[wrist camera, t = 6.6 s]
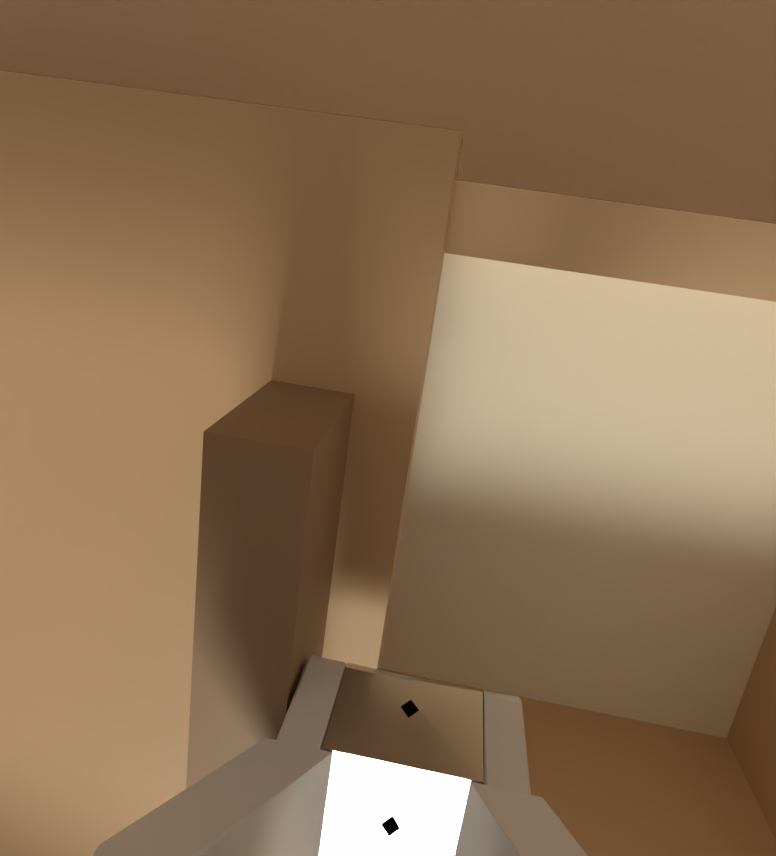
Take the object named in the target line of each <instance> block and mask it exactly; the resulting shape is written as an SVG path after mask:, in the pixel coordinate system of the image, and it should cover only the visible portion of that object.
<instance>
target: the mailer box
mask: <svg viewBox="0 0 776 856" xmlns="http://www.w3.org/2000/svg"><path fill="white" fill-rule="evenodd" d="M379 670H383V671H388V672H392V673H397V674H401V675H405V676H410V677H414V678H417V679H422V680H427V681H432V682H437V683H442V684H447V685H452V686H457V687H462V688H468V689H473V690H478V691H481V692H482V691H483V690H484V691H490V692H495V693H501V694H507V695H512V696H518V697H519V698H520V699H521V701H522V706H523V717H524V727H525V738H526V748H527V759H528V769H529V780H530V790H531V795H534V796H539V797H542V798H544V800H545V801H546V802H547V804H548V805H549V806H550V807H551V809H552V810H553V811H554V813H555V814H556V815H557V817H558V818H559V819H560V820H561V822H562V823H563V824H564V826H565V827H566V828H567V829H568V831H569V832H570V833H571V835H572V836H573V837H574V838H575V840H576V841H577V842H578V844H579V845H580V846H581V848H582V849H583V850H584V851H585V853H586V854H587V855H588V856H776V224H774V223H767V222H760V221H752V220H745V219H738V218H731V217H723V216H716V215H709V214H702V213H694V212H687V211H680V210H672V209H665V208H658V207H651V206H643V205H636V204H629V203H622V202H614V201H607V200H600V199H592V198H585V197H578V196H571V195H563V194H556V193H549V192H542V191H534V190H527V189H520V188H513V187H505V186H498V185H491V184H483V183H476V182H469V181H462V180H456V183H455V190H454V196H453V202H452V209H451V215H450V221H449V228H448V234H447V240H446V247H445V253H444V260H443V266H442V272H441V279H440V285H439V291H438V298H437V304H436V310H435V317H434V323H433V329H432V336H431V342H430V348H429V355H428V361H427V368H426V374H425V380H424V387H423V393H422V399H421V406H420V412H419V418H418V425H417V431H416V437H415V444H414V450H413V456H412V463H411V469H410V476H409V482H408V488H407V495H406V501H405V507H404V514H403V520H402V526H401V533H400V539H399V545H398V552H397V558H396V564H395V571H394V577H393V584H392V590H391V596H390V603H389V609H388V615H387V622H386V628H385V634H384V641H383V647H382V653H381V660H380V666H379Z"/></svg>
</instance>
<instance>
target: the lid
mask: <svg viewBox="0 0 776 856" xmlns="http://www.w3.org/2000/svg"><path fill="white" fill-rule="evenodd" d="M461 145H462V133H461V131H460V130H452V129H445V128H437V127H429V126H422V125H414V124H407V123H399V122H391V121H384V120H376V119H368V118H361V117H353V116H346V115H338V114H330V113H323V112H315V111H308V110H300V109H292V108H285V107H277V106H269V105H262V104H254V103H247V102H239V101H231V100H224V99H216V98H208V97H201V96H193V95H186V94H178V93H170V92H163V91H155V90H148V89H140V88H132V87H125V86H117V85H109V84H102V83H94V82H87V81H79V80H71V79H64V78H56V77H48V76H41V75H33V74H26V73H18V72H10V71H3V70H0V856H92V855H93V854H94V852H95V850H96V849H97V847H98V845H100V844H101V843H103V842H104V841H106V840H107V839H109V838H110V837H112V836H113V835H115V834H117V833H118V832H120V831H121V830H123V829H124V828H126V827H127V826H129V825H131V824H132V823H134V822H135V821H137V820H138V819H140V818H141V817H143V816H145V815H146V814H148V813H149V812H151V811H152V810H154V809H155V808H157V807H159V806H160V805H162V804H163V803H165V802H166V801H168V800H169V799H171V798H173V797H174V796H176V795H177V794H179V793H180V792H182V791H183V790H185V789H187V788H188V787H190V786H191V785H193V784H194V783H196V782H197V781H199V780H201V779H202V778H204V777H205V776H207V775H208V774H210V773H211V772H213V771H215V770H216V769H218V768H219V767H221V766H222V765H224V764H225V763H227V762H229V761H230V760H232V759H233V758H235V757H236V756H238V755H239V754H241V753H243V752H244V751H246V750H247V749H249V748H250V747H252V746H253V745H255V744H256V743H258V742H260V741H261V740H263V739H264V738H268V739H273V740H276V739H277V737H278V734H279V732H280V729H281V726H282V724H283V721H284V719H285V716H286V714H287V711H288V709H289V706H290V704H291V701H292V699H293V696H294V694H295V691H296V688H297V686H298V683H299V681H300V678H301V676H302V673H303V671H304V668H305V666H306V663H307V661H308V660H309V659H310V657H311V656H312V655H314V656H319V657H323V658H328V659H333V660H337V661H342V662H345V663H346V664H348V663H352V664H357V665H361V666H366V667H370V668H375V669H379V666H380V660H381V653H382V647H383V641H384V634H385V628H386V622H387V615H388V609H389V603H390V596H391V590H392V584H393V577H394V571H395V564H396V558H397V552H398V545H399V539H400V533H401V526H402V520H403V514H404V507H405V501H406V495H407V488H408V482H409V476H410V469H411V463H412V456H413V450H414V444H415V437H416V431H417V425H418V418H419V412H420V406H421V399H422V393H423V387H424V380H425V374H426V368H427V361H428V355H429V348H430V342H431V336H432V329H433V323H434V317H435V310H436V304H437V298H438V291H439V285H440V279H441V272H442V266H443V260H444V253H445V247H446V240H447V234H448V228H449V221H450V215H451V209H452V202H453V196H454V190H455V183H456V177H457V171H458V164H459V158H460V151H461Z"/></svg>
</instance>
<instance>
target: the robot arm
mask: <svg viewBox="0 0 776 856" xmlns="http://www.w3.org/2000/svg"><path fill="white" fill-rule="evenodd" d="M92 856H588V855H587V854H586V853H585V851H584V850H583V849H582V848H581V846H580V845H579V844H578V842H577V841H576V840H575V838H574V837H573V836H572V835H571V833H570V832H569V831H568V829H567V828H566V827H565V826H564V824H563V823H562V822H561V820H560V819H559V818H558V817H557V815H556V814H555V813H554V811H553V810H552V809H551V807H550V806H549V805H548V804H547V802H546V801H545V800H544V798H542V797H539V796H534V795H531V790H530V780H529V769H528V759H527V748H526V738H525V727H524V717H523V706H522V701H521V699H520V698H519V697H518V696H512V695H507V694H501V693H495V692H490V691H484V690H483V691H482V692H481V691H478V690H473V689H468V688H462V687H457V686H452V685H447V684H442V683H437V682H432V681H427V680H422V679H417V678H414V677H410V676H405V675H401V674H397V673H392V672H388V671H383V670H379V669H375V668H370V667H366V666H361V665H357V664H352V663H348V664H346V663H345V662H342V661H337V660H333V659H328V658H323V657H319V656H314V655H312V656H311V657H310V659H309V660H308V661H307V663H306V666H305V668H304V671H303V673H302V676H301V678H300V681H299V683H298V686H297V688H296V691H295V694H294V696H293V699H292V701H291V704H290V706H289V709H288V711H287V714H286V716H285V719H284V721H283V724H282V726H281V729H280V732H279V734H278V737H277V739H276V740H273V739H268V738H264V739H263V740H261V741H260V742H258V743H256V744H255V745H253V746H252V747H250V748H249V749H247V750H246V751H244V752H243V753H241V754H239V755H238V756H236V757H235V758H233V759H232V760H230V761H229V762H227V763H225V764H224V765H222V766H221V767H219V768H218V769H216V770H215V771H213V772H211V773H210V774H208V775H207V776H205V777H204V778H202V779H201V780H199V781H197V782H196V783H194V784H193V785H191V786H190V787H188V788H187V789H185V790H183V791H182V792H180V793H179V794H177V795H176V796H174V797H173V798H171V799H169V800H168V801H166V802H165V803H163V804H162V805H160V806H159V807H157V808H155V809H154V810H152V811H151V812H149V813H148V814H146V815H145V816H143V817H141V818H140V819H138V820H137V821H135V822H134V823H132V824H131V825H129V826H127V827H126V828H124V829H123V830H121V831H120V832H118V833H117V834H115V835H113V836H112V837H110V838H109V839H107V840H106V841H104V842H103V843H101V844H100V845H98V847H97V849H96V850H95V852H94V854H93V855H92Z"/></svg>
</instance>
